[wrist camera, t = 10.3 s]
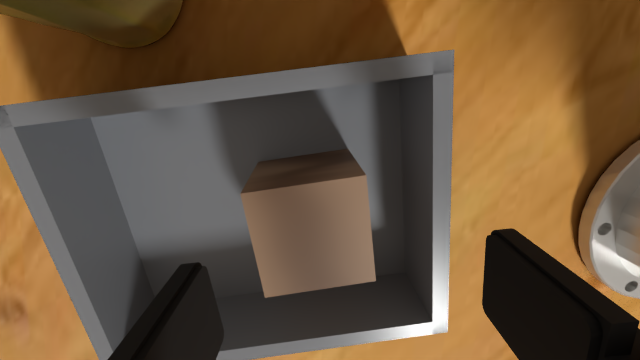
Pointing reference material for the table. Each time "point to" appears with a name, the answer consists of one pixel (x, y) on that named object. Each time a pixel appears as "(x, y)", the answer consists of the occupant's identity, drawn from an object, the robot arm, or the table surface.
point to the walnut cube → (310, 222)
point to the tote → (225, 200)
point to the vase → (101, 18)
